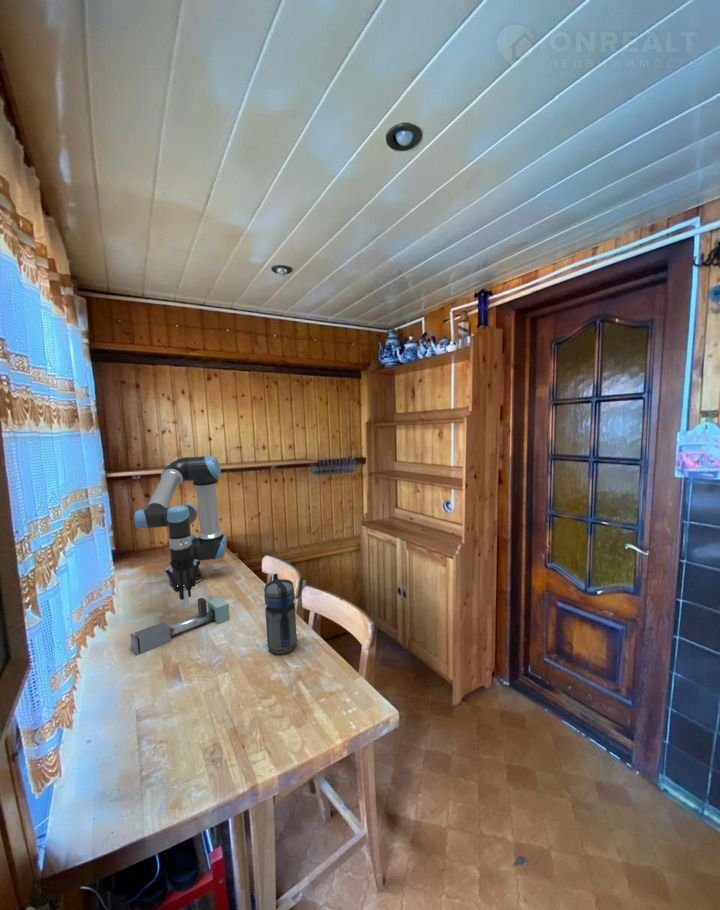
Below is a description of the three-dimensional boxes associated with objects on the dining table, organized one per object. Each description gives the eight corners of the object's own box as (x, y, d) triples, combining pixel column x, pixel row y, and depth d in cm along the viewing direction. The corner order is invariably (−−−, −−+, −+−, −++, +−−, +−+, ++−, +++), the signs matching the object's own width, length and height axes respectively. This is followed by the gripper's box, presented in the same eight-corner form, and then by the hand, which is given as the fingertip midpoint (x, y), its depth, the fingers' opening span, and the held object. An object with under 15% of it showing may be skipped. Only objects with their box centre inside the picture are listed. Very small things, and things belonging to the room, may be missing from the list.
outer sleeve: (136, 655, 130) (135, 641, 130) (131, 647, 135) (130, 633, 134) (171, 641, 138) (169, 627, 137) (165, 634, 142) (164, 621, 142)
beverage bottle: (273, 663, 123) (268, 589, 121) (264, 643, 134) (260, 575, 132) (302, 654, 127) (299, 582, 125) (292, 635, 139) (288, 569, 137)
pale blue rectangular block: (217, 624, 149) (216, 608, 148) (208, 616, 155) (207, 601, 155) (229, 619, 152) (228, 603, 152) (220, 612, 159) (219, 596, 158)
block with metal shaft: (162, 641, 137) (160, 616, 136) (159, 637, 140) (157, 612, 139) (221, 618, 152) (219, 595, 152) (217, 615, 155) (215, 592, 154)
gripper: (165, 554, 135) (171, 616, 138) (202, 544, 144) (206, 603, 147) (159, 549, 141) (164, 609, 143) (194, 540, 150) (199, 597, 152)
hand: (186, 606), depth 145 cm, fingers closed
